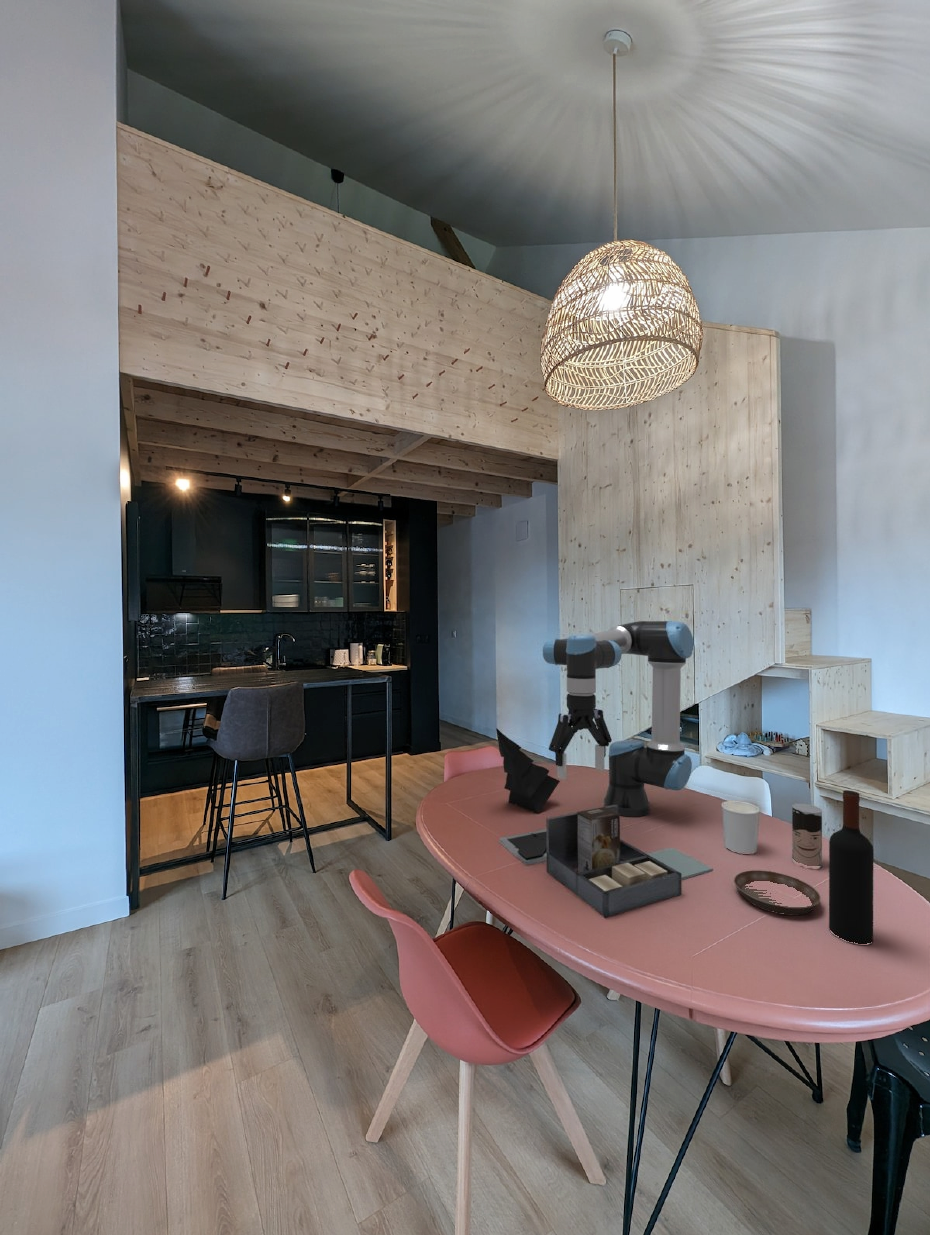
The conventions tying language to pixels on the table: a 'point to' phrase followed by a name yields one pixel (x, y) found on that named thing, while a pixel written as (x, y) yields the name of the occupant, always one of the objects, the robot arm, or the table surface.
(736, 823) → the candle holder
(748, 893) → the plant saucer
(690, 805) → the table surface
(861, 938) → the wine bottle
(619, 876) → the block
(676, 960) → the table surface
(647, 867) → the offcut
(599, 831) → the coffee box
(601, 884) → the offcut
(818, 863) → the cup
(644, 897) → the open divided box
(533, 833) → the picture frame
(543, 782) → the decorative tree
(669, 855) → the pad
